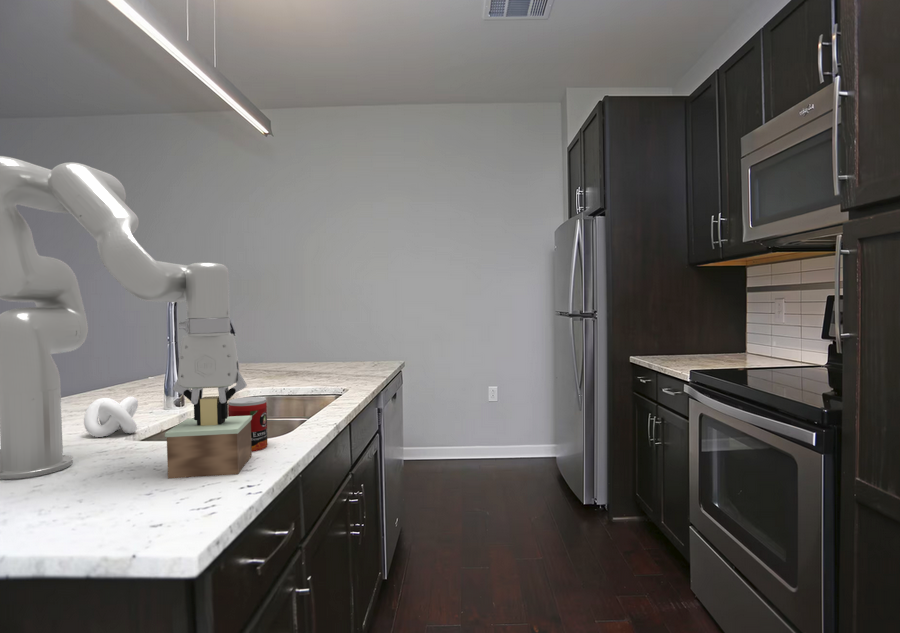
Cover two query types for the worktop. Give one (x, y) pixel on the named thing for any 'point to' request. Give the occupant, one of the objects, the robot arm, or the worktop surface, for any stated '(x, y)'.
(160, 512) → the worktop surface
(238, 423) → the lid
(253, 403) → the canned food
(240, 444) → the box
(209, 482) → the worktop surface
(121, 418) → the white knot sculpture
